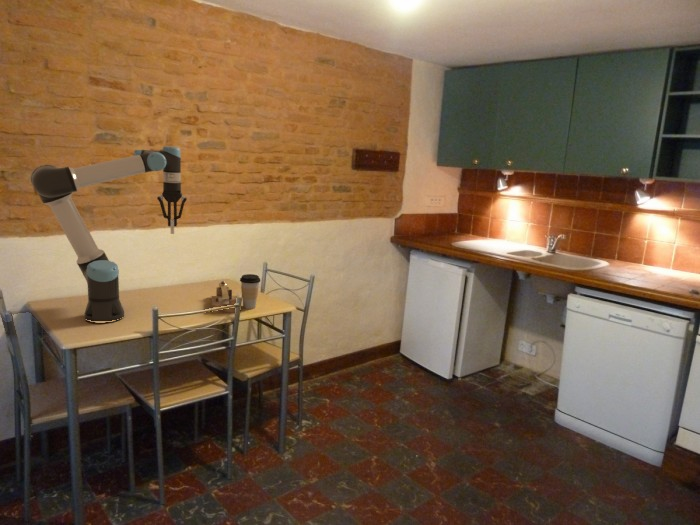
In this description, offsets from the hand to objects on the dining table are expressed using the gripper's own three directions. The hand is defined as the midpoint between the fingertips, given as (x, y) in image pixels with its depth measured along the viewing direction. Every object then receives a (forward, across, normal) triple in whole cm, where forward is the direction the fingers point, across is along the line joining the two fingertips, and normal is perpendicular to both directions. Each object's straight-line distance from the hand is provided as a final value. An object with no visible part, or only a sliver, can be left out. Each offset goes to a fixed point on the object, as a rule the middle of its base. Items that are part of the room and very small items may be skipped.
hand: (172, 233), depth 234 cm
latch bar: (+27, +23, -5) cm, 36 cm away
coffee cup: (+33, +35, -12) cm, 49 cm away
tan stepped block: (+32, +24, -12) cm, 42 cm away
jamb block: (+32, +23, +2) cm, 40 cm away
